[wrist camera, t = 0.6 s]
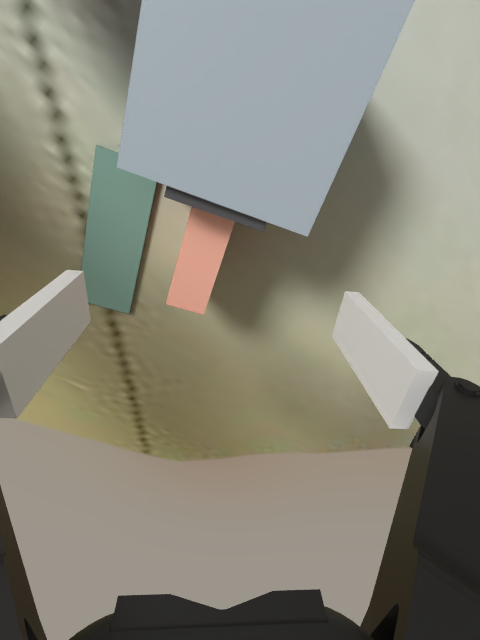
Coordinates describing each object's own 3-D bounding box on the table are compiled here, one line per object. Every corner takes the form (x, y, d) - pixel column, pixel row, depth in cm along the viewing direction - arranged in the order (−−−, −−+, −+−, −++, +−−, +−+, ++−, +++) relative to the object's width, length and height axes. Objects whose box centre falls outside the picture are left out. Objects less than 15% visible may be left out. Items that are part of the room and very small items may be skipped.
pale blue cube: (154, 170, 31) (114, 180, 19) (194, -26, 24) (171, -197, 12) (272, 214, 33) (302, 247, 22) (336, 49, 27) (429, -32, 15)
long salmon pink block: (178, 267, 36) (165, 304, 27) (220, 113, 29) (221, 96, 20) (207, 275, 36) (203, 314, 28) (254, 128, 29) (269, 117, 21)
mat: (79, 298, 37) (77, 300, 36) (98, 145, 29) (96, 145, 29) (130, 311, 38) (128, 313, 37) (160, 168, 31) (159, 168, 30)
